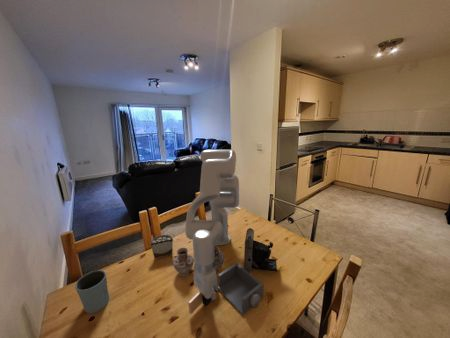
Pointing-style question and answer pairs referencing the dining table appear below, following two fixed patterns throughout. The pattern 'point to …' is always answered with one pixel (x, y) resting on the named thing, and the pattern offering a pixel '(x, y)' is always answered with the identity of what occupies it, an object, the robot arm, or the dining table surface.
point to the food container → (162, 246)
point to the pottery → (186, 261)
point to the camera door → (195, 302)
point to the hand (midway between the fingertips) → (207, 302)
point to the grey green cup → (93, 291)
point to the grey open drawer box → (240, 288)
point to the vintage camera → (257, 254)
